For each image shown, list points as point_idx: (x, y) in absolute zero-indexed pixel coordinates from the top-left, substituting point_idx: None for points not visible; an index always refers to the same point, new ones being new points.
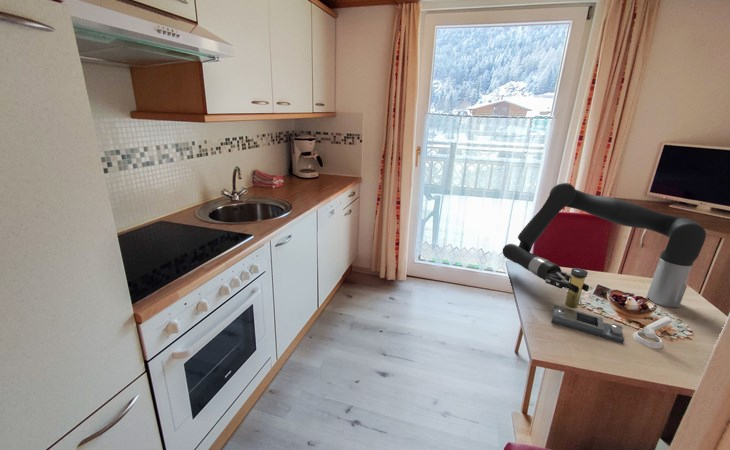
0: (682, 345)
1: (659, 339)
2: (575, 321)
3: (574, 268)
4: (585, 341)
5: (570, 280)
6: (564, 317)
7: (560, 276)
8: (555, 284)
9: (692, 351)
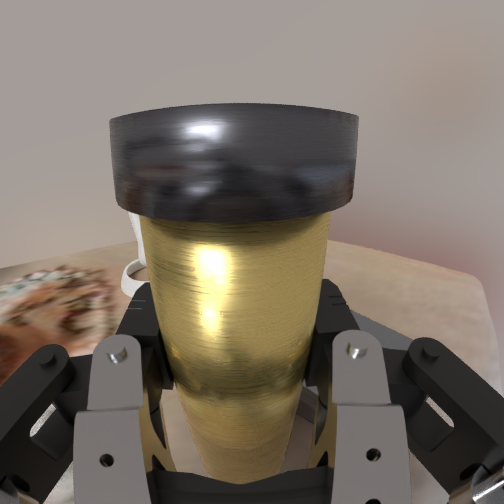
0: (104, 260)
1: (138, 261)
2: (360, 317)
3: (235, 104)
4: (351, 301)
5: (300, 337)
6: (395, 338)
7: (403, 467)
8: (443, 437)
9: (113, 251)
